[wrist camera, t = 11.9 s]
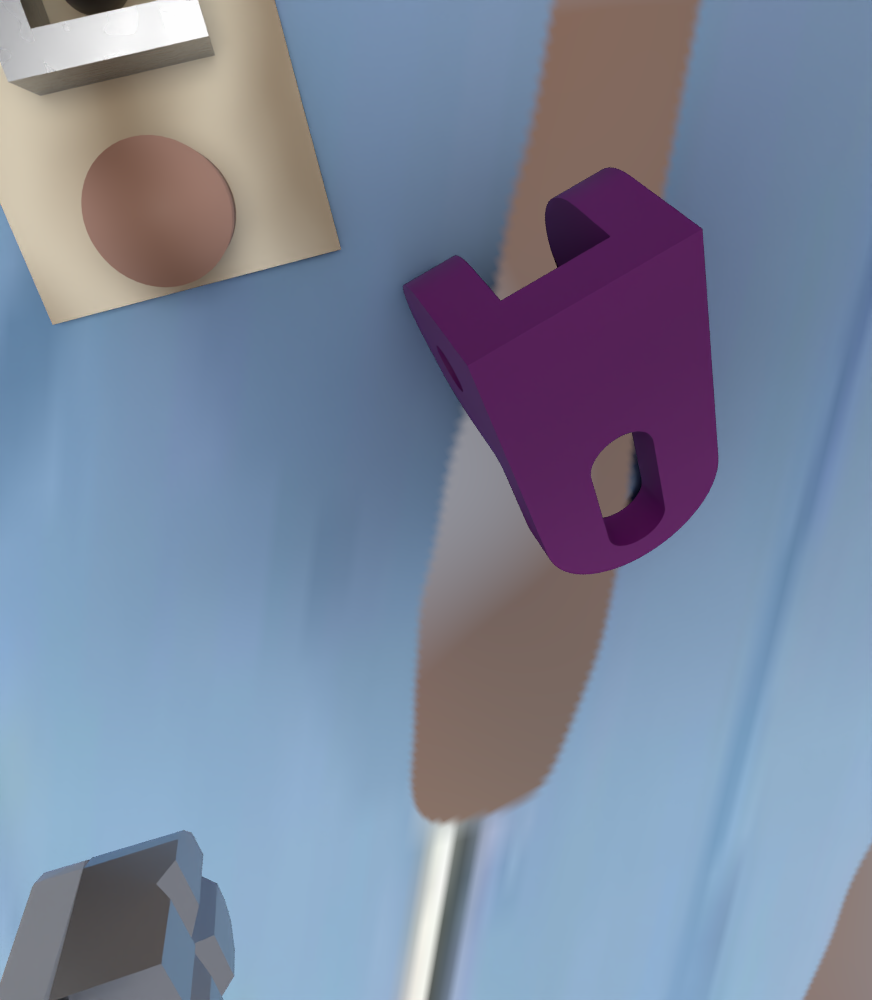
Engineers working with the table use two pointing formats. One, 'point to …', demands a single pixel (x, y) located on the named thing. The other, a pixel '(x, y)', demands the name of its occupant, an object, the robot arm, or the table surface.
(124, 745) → the table surface
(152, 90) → the post board
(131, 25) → the collar
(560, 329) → the mounting bracket
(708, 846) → the table surface
